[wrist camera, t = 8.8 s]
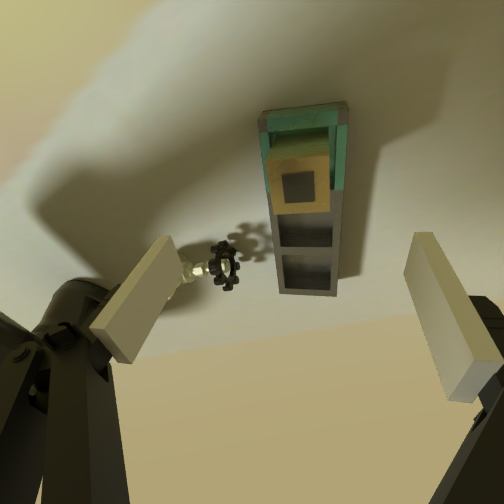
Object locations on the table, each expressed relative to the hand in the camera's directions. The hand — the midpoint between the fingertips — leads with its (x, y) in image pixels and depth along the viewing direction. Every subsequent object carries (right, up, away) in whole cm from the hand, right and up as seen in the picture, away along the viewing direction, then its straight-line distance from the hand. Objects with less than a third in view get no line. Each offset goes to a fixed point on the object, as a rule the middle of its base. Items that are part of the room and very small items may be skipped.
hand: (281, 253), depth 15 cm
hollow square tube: (+3, +10, +11) cm, 15 cm away
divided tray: (+5, +5, +16) cm, 17 cm away
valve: (-9, 0, +25) cm, 27 cm away
